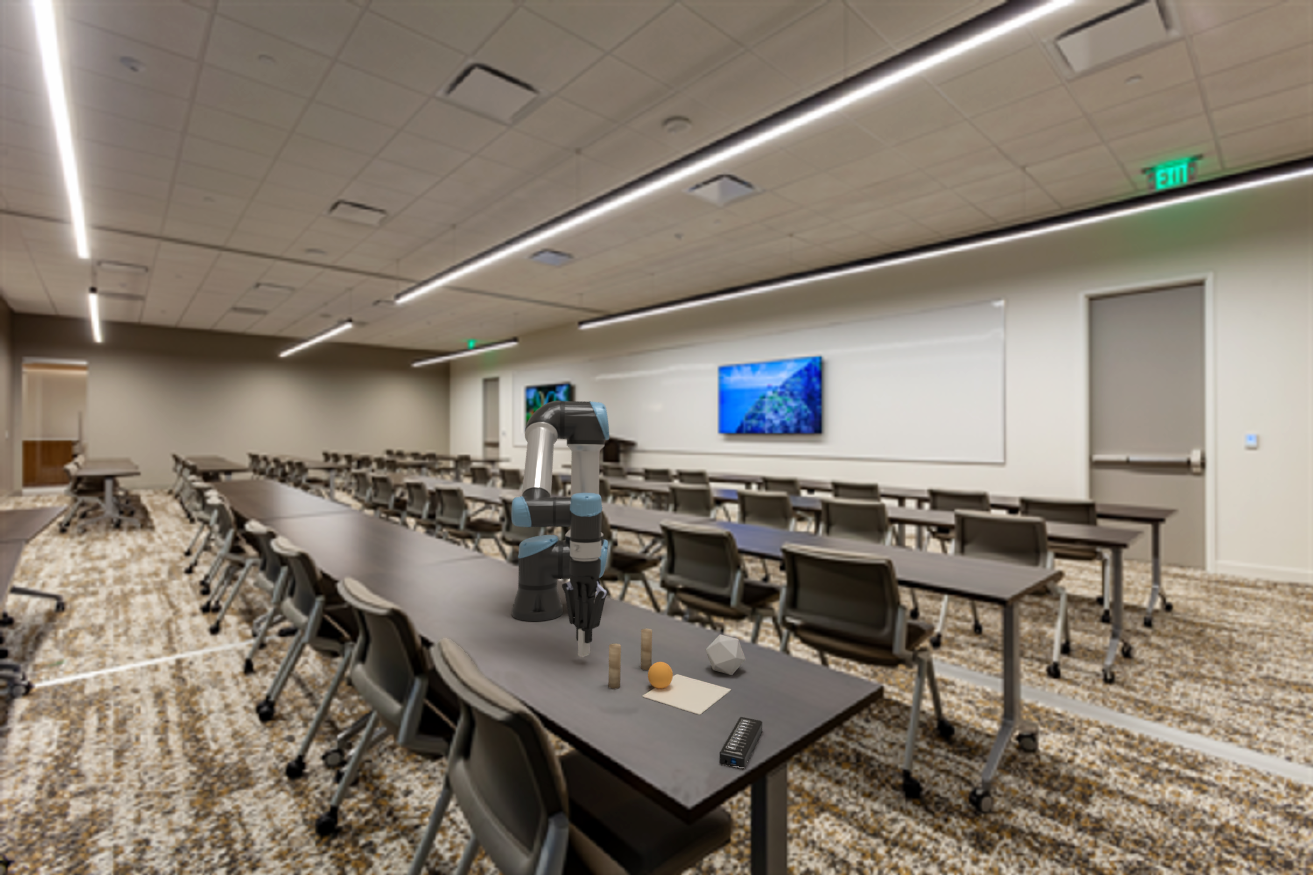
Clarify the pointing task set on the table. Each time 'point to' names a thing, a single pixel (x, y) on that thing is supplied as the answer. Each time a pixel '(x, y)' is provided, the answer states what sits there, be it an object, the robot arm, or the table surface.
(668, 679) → the ball
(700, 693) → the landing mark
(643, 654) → the right post
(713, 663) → the die
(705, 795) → the table surface
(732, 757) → the multiport hub
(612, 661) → the left post
